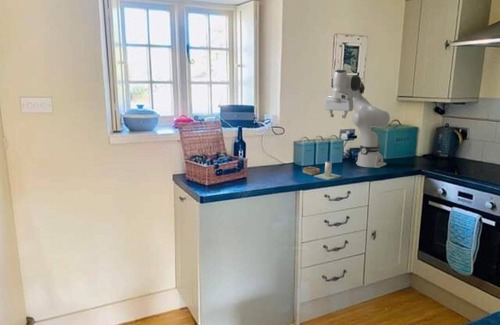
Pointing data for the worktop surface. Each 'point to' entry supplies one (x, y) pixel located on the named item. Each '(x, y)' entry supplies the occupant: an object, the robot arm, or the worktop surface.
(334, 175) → the tile pad
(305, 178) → the worktop surface
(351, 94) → the robot arm
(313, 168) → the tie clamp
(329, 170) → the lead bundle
